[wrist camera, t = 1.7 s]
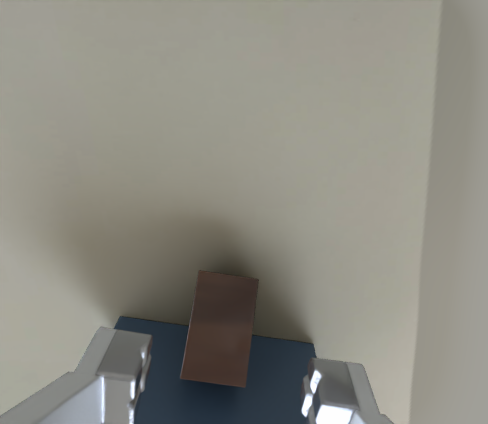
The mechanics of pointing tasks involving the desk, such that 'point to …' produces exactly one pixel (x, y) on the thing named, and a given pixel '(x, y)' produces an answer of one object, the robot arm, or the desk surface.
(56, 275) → the desk surface
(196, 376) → the walnut block
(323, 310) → the desk surface
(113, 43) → the desk surface
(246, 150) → the desk surface
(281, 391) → the bookend
